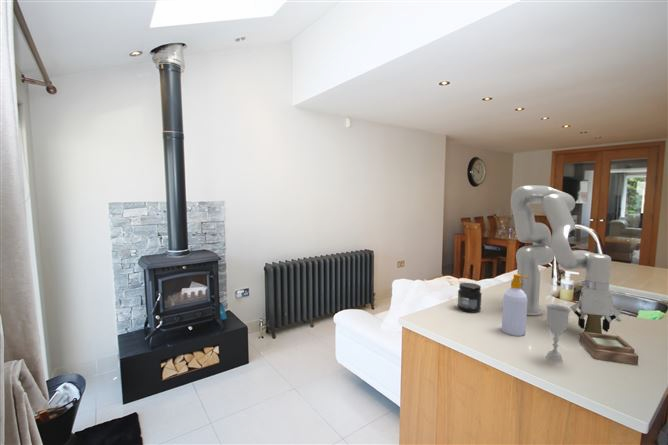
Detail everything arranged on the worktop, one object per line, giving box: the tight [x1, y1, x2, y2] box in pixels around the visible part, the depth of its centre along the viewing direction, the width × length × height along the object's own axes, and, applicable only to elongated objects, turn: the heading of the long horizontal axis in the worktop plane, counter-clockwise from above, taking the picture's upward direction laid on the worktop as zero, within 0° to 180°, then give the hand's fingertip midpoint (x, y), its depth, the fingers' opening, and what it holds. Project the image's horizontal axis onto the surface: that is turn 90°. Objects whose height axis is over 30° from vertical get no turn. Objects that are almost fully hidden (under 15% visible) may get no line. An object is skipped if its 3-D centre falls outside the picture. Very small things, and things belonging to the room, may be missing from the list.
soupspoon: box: [613, 304, 625, 322], centre depth 156 cm, size 22×3×7 cm
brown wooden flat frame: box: [578, 331, 639, 365], centre depth 118 cm, size 12×14×4 cm
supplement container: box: [457, 282, 482, 314], centre depth 160 cm, size 10×10×12 cm
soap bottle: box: [501, 273, 529, 337], centre depth 134 cm, size 9×9×24 cm
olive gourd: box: [583, 314, 603, 334], centre depth 131 cm, size 6×6×11 cm
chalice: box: [545, 303, 572, 364], centre depth 112 cm, size 7×7×18 cm
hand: (593, 328), depth 132 cm, fingers open, 7 cm apart
